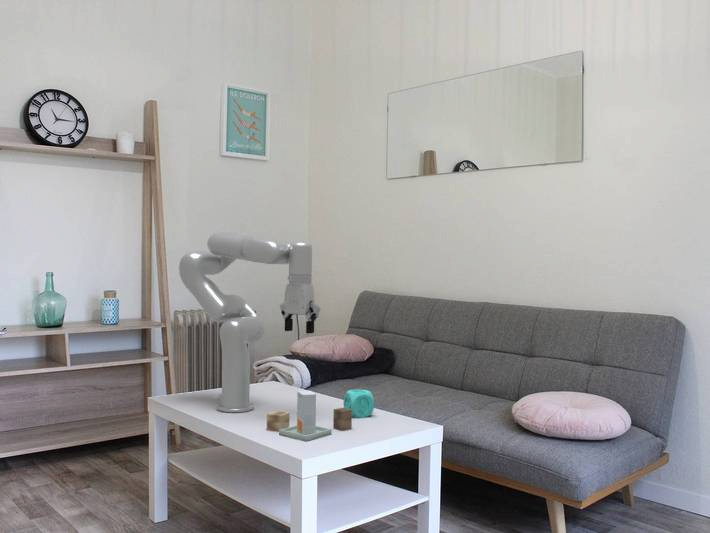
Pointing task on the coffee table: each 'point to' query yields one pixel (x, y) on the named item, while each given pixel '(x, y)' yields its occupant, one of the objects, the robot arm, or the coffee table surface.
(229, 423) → the coffee table surface
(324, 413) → the coffee table surface
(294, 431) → the tray
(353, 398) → the decorative dice
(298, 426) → the skincare box
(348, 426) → the walnut block
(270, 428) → the oak cube
